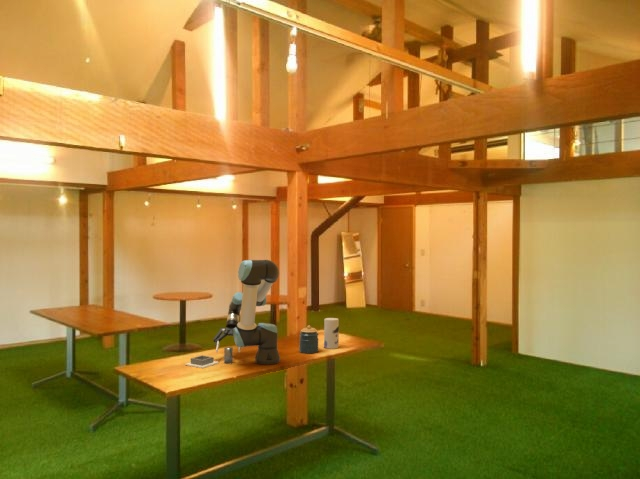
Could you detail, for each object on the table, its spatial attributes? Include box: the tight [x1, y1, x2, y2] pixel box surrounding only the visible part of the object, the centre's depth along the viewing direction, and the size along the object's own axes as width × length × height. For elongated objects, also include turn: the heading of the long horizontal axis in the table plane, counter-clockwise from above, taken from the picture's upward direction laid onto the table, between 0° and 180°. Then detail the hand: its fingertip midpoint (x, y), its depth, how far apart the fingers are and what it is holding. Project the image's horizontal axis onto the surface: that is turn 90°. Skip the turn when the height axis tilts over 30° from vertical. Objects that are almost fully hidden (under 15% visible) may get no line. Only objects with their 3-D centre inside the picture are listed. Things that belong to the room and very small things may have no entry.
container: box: [323, 317, 340, 350], centre depth 333 cm, size 10×10×20 cm
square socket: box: [184, 354, 220, 369], centre depth 286 cm, size 14×14×4 cm
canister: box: [298, 324, 319, 355], centre depth 320 cm, size 13×13×18 cm
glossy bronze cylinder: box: [223, 346, 234, 365], centre depth 290 cm, size 5×5×9 cm
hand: (228, 351), depth 291 cm, fingers open, 13 cm apart
